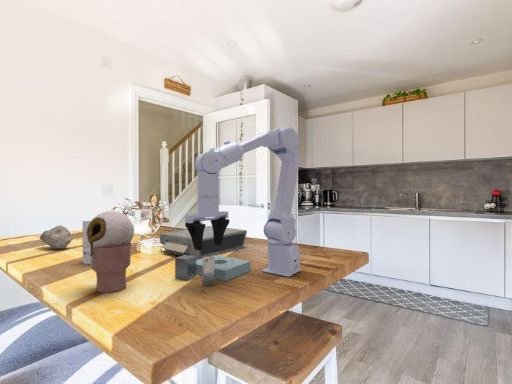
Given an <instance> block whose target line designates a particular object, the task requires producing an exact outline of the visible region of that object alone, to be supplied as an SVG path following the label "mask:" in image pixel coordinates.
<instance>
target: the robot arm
mask: <svg viewBox="0 0 512 384" xmlns="http://www.w3.org/2000/svg"><path fill="white" fill-rule="evenodd" d="M300 140H301V139H300V135H299V134H298V132H297V131H296V129H295V128H294V127H293V126H290V125H289V126H288V125H287V126H286V125H285V126H284V127H280V128H275V129H271V130H267V131H264V132H261V133H258V134H257V135H255V136H252V137H250V138H248V139H246V140H243V141H242V142H240V143H238V142H236V141H233V140H232V141H230V140H226V141H224V142H223V144H222V145H220V146H218V147H216V148H214V147H211V148H209V150H208V151H207V152H203V153H201V154H199V155H198V156H197V157H196V158H195V161H194V162H193V166H194V167H193V168H194V169H195V171H196V172H197V180H196V181H197V182H196V183H197V186H196V187H197V188H196V189H197V190H196V191H197V195H196V196H197V202H196V203H197V206H196V207H197V212H195V213H191V214H185V215H184V216H185V217H184V219H185V220H184V222H185V223H184V224H185V225H184V226H185V227H186V229H188V231H189V233H190V236H191V238H192V242H193V245H194V249H195V250H202V244H203V233H204V229H205V226H207V225H206V223H202V222H205V221H210V223H211V226H212V228H213V236H214V245H221V244H222V240H223V236H224V233H225V230H226V228H228V225H230V219H229V211H228V210H227V211H226V210H223V211H220V194H219V193H220V190H219V189H220V187H219V186H220V180H219V179H220V178H219V176H220V175H219V173H220V171H221V170H222V169H224V168H226V167H228V166H230V165H232V164H235V163H237V162H239V161H241V160H242V158H243V156H244V154H245V153H248V152H250V151H253V150H256V149H257V148H261V147H263V148H267V149H268V150H269V151H270V152H272V153H273V154H274V155H275V156H276V157H278V158H279V160H280V161H281V165H280V171H279V177H278V183H277V190H276V196H275V200H274V206H273V210H272V211H271V212H270V213H269V215H268V216H267V220H266V222H265V224H264V225H263V234H264V236H265V237H266V240H267V267H266V268H264V269H262V270H261V271H262V272H263V273H268V274H274V275H279V276H284V277H291V276H293V275H294V274H297V273H298V272H301V270H302V269H301V268H300V266H301V265H300V264H301V263H300V260H301V259H300V257H301V256H300V255H301V253H300V247H299V246H298V245H297V244H294V243H293V241H294V240H295V238H296V235H297V228H296V218H295V216H294V215H293V214H292V209H293V203H294V197H295V190H296V185H297V179H298V173H299V167H300V161H301V156H300V155H301V154H300V148H299V145H300Z"/></svg>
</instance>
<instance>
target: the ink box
mask: <svg viewBox="0 0 512 384" xmlns="http://www.w3.org/2000/svg"><path fill="white" fill-rule="evenodd" d="M90 221H91V220H83V221H82V232H81V233H82V236H81V237H82V264H85V265H91V257H90V254H91V250H90V247H91V246H90V244H89V242H88V240H87V234H86V231H87V227H88V224H89V223H90Z"/></svg>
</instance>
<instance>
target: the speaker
mask: <svg viewBox="0 0 512 384" xmlns="http://www.w3.org/2000/svg"><path fill="white" fill-rule="evenodd" d="M247 233H248V230H246V229H240V228H230V227H227V228H226V230H225V233H224V236H223V240H222V244H221V245H214V236H213V228H212V225H206V226H205V229H204V233H203V244H202V250H195V249H194V245H193V242H192V238H191V236H190V233H189V231H188V229H187V228H186V229H180V230H175V231H167V232H160V234H159V243H161V244H163V245H164V246H163V247H162V248H164V249H165V251H166V252H165V253H167V252H168V254H172V253H173V254H172V255H176V254H178V255H177V256H180V255H182V256H183V255H189V256H196V260H199V259H202V258H203V257H207V256H213V255H217V256H220V255H223V253H224V254H227V252H228V253H230V252H231V251H232V252H235V251H238V250H242V249H243V248H244V247H245V242H246V237H247ZM232 252H231V253H232ZM219 254H220V255H219Z"/></svg>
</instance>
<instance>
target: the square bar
mask: <svg viewBox="0 0 512 384" xmlns="http://www.w3.org/2000/svg"><path fill="white" fill-rule="evenodd" d="M196 260H197V259H196V256H189V255H183V256H180V255H179V256H177V257H174V279H175V280H179V281H186V282H187V281H190V280H192V279H194V278H196V277H197V274H196Z"/></svg>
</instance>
